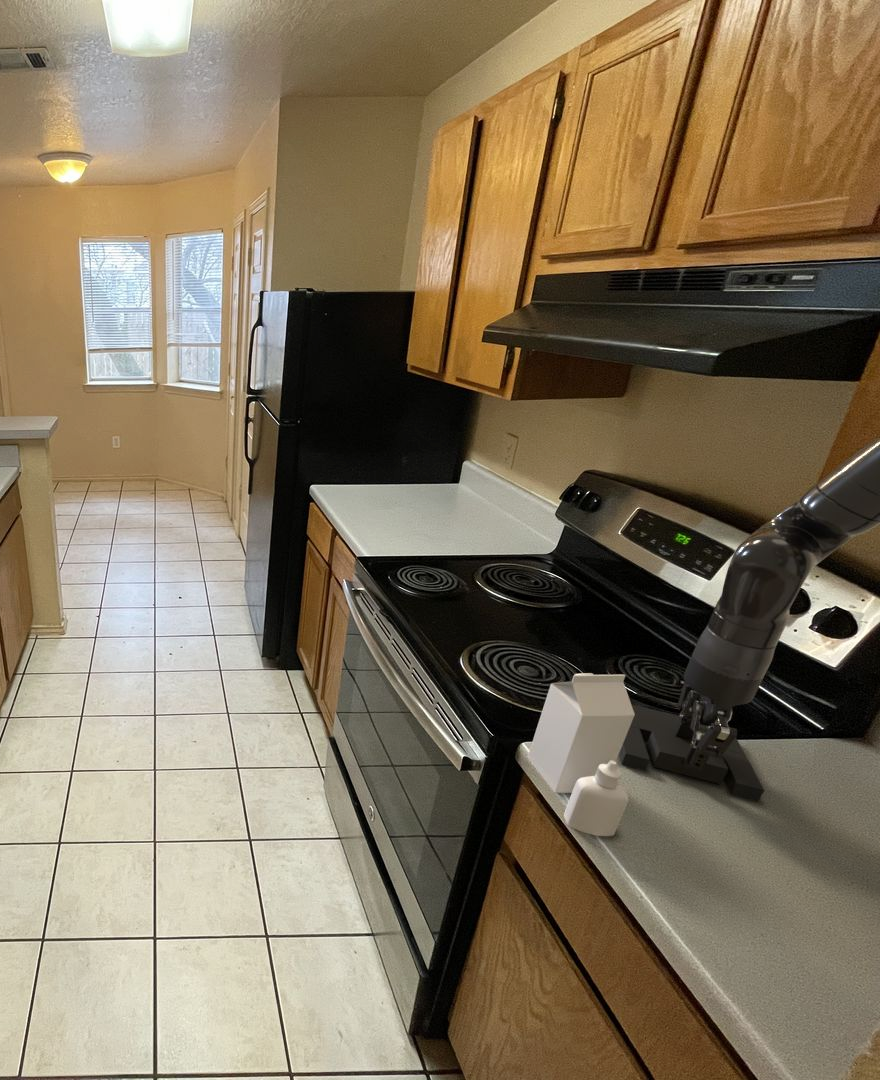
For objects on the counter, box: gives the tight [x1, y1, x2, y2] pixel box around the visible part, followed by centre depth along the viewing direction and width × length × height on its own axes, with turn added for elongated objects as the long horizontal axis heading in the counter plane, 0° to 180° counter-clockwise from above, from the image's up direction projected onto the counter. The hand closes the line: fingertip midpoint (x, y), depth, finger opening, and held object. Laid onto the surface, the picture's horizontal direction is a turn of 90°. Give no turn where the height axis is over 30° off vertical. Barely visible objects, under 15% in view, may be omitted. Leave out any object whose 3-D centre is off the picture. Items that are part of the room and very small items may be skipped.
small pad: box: [645, 731, 728, 785], centre depth 89 cm, size 8×5×3 cm, turn 63°
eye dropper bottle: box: [563, 760, 629, 837], centre depth 78 cm, size 4×6×12 cm
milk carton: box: [527, 672, 635, 794], centre depth 85 cm, size 7×7×19 cm
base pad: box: [618, 703, 765, 802], centre depth 92 cm, size 16×14×3 cm
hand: (686, 754), depth 89 cm, fingers closed on small pad, 5 cm apart
